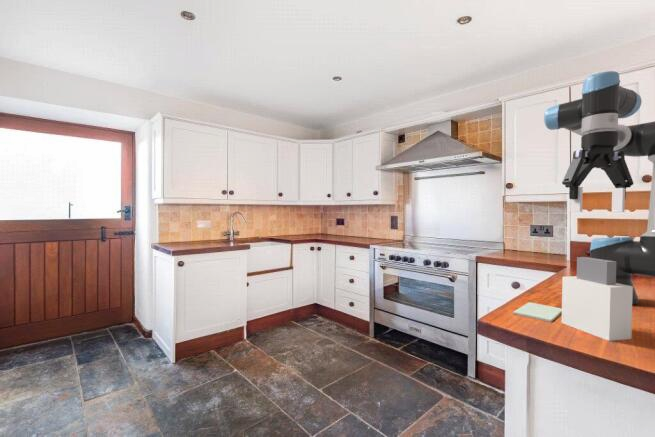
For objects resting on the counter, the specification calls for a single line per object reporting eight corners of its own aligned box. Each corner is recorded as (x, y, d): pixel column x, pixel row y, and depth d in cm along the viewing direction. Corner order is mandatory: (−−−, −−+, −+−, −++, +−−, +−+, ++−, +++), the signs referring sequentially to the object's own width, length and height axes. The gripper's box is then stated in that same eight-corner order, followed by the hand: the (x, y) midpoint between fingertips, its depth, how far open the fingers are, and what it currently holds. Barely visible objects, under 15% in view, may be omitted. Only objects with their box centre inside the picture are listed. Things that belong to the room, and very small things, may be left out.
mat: (563, 310, 103) (563, 308, 103) (550, 322, 93) (550, 319, 92) (528, 303, 111) (528, 302, 111) (513, 313, 100) (513, 311, 100)
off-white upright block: (581, 321, 93) (582, 255, 93) (631, 338, 80) (633, 262, 80) (561, 322, 92) (563, 256, 91) (609, 340, 79) (611, 263, 79)
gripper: (573, 127, 79) (571, 211, 80) (653, 131, 83) (650, 211, 84) (547, 134, 86) (545, 211, 87) (621, 138, 91) (620, 211, 91)
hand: (597, 211), depth 85 cm, fingers open, 13 cm apart
